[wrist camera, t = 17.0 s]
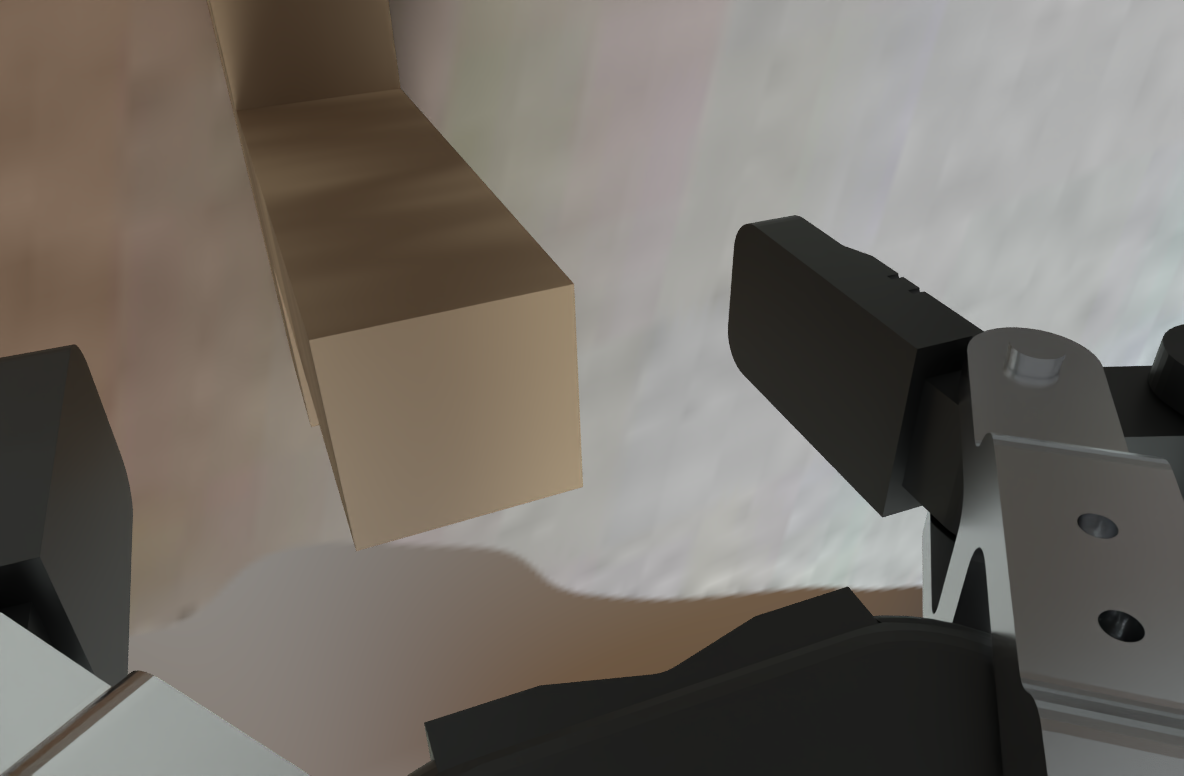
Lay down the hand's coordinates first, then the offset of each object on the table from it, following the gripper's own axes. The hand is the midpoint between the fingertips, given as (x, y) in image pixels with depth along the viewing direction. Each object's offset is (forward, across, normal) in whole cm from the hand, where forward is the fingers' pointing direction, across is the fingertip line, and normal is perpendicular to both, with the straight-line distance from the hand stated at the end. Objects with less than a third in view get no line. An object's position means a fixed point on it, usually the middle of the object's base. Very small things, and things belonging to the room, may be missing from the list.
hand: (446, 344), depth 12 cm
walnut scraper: (+11, 0, +1) cm, 11 cm away
